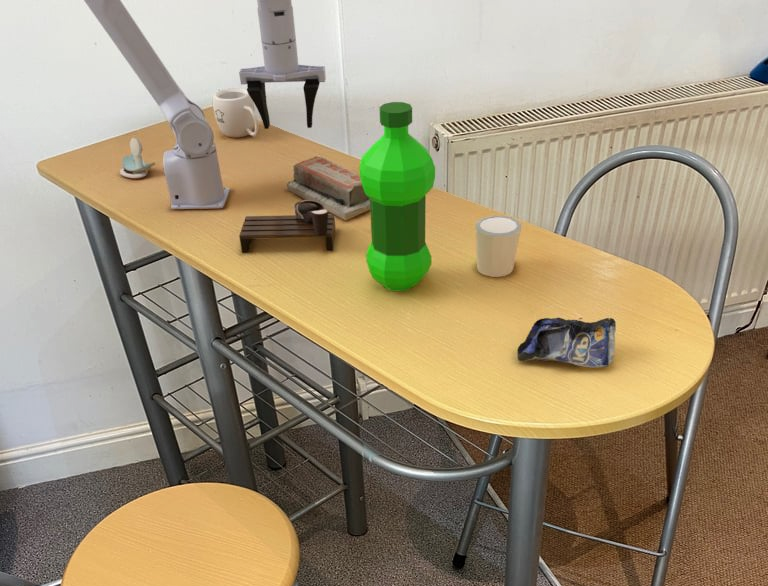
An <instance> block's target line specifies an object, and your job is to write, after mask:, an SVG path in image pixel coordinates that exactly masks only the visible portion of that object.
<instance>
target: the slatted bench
mask: <svg viewBox="0 0 768 586" xmlns="http://www.w3.org/2000/svg"><path fill="white" fill-rule="evenodd" d="M335 217H336V216H335V215H334V214H328V224H327V234H326V235H324V236H319V235H317V234H316V233H315V231H314V226H313V222H309V223H305V222H303V221H301V220H299V219H298V218H297V217H296V216H295V214H294V215H291V214H290V215H245V218H244V221H243V224H242V226H241V229H240V232H239V235H238V236H239V242H240V248H241V253H242V254H243V253H245V254H247V253H249V251H250V247H251V244H252V241H253V239H254V240H255V239H297V238H298V239H301V238H303V239H305V238H325V246H326V252H333V251H334V246H335V239H336V232H337V231H336V220H335Z"/></svg>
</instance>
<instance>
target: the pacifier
mask: <svg viewBox="0 0 768 586" xmlns="http://www.w3.org/2000/svg"><path fill="white" fill-rule="evenodd" d="M129 150H130V153H131V154H127V155H125V156H124V157H123V158H122V160H121V164H122V168H121V169H120V170H119V173H120V175H121V176H122V177H125V178H127V179H142V178H145V176H147V174H148V173H149V171H148V169H150V168H152V167H153V166H155V165H156V162H154V161H153V162H151V163H146V161H145V160H144V159H143V157H142V153H143V145H142V143H141V141H140V140H139V139H138V138H136V137H132V138H131V139H130V141H129ZM128 171H129V172H132V173H128Z"/></svg>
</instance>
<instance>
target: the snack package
mask: <svg viewBox="0 0 768 586" xmlns="http://www.w3.org/2000/svg"><path fill="white" fill-rule="evenodd" d="M616 322H617V321H616V320H615V319H614V318H612V317H606V318H603V319H599V320H596V321H592V322H585V321H583V317H579V318H578V319H565V318H563V317H554V318H553V317H552V318H550V317H544V318H541V319H537V320H536V321H535V322H534V323H533V325H532V326H531V329H530V330H529V332H528V334H527V335H526V337H525V338H526V339H525V340H524V341H523V342H522V343H520V344H519V345H518V348H517V351H516V352H517V353H516V354H517V360H518V361H520V362H525V361H544V362H545V361H546V362H547V361H550V362H551V361H557V362H562V363H569V364H572V365H575V366H578V367H579V366H580V367H585V368H604V367H608V366H610V365H611V364H612V363H613V361H614V353H615V351H616V337H615V335H616V332H617V331H616V329H617V325H616V324H617V323H616Z"/></svg>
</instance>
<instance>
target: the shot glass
mask: <svg viewBox="0 0 768 586" xmlns="http://www.w3.org/2000/svg"><path fill="white" fill-rule="evenodd" d="M521 231H522V224H521V222H520V221H519V220H518V219H516V218H514V217H512V216H507V215H489V216H485V217H482V218H480V219H478V221H476V222H475V243H476V249H475V250H476V270H477V271H478V272H479V273H480V274H482V275H484V276H487V277H493V278H498V277H506V276H508V275H510V274H511V273H512V272H513V271H514V266H515V262H516V257H517V252H518V246H519V242H520V241H519V240H520V236H521Z"/></svg>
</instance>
